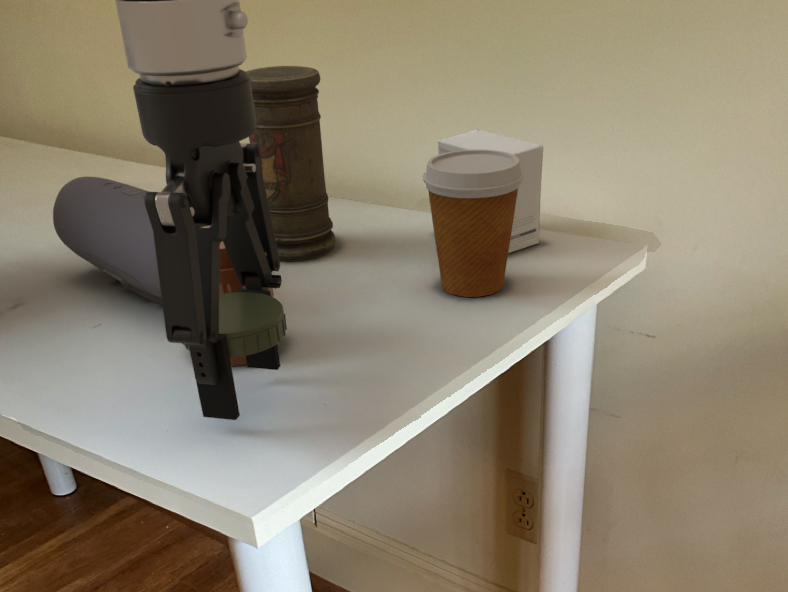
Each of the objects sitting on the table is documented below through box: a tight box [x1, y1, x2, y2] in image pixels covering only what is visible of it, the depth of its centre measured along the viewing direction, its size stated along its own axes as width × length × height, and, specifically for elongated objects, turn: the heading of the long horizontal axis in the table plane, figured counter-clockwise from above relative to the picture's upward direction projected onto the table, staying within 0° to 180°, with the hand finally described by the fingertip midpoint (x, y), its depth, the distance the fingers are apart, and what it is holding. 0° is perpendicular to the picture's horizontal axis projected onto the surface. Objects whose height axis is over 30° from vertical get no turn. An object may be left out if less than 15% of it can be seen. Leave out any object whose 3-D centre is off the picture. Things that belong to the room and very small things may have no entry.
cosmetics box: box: [437, 128, 544, 254], centre depth 98 cm, size 10×6×10 cm, turn 37°
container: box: [245, 65, 336, 262], centre depth 95 cm, size 9×9×18 cm
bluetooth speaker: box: [52, 176, 205, 305], centre depth 89 cm, size 23×9×10 cm, turn 43°
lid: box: [181, 292, 288, 358], centre depth 67 cm, size 8×8×2 cm
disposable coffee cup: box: [422, 150, 524, 298], centre depth 86 cm, size 10×10×12 cm
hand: (243, 390), depth 71 cm, fingers closed on lid, 8 cm apart
